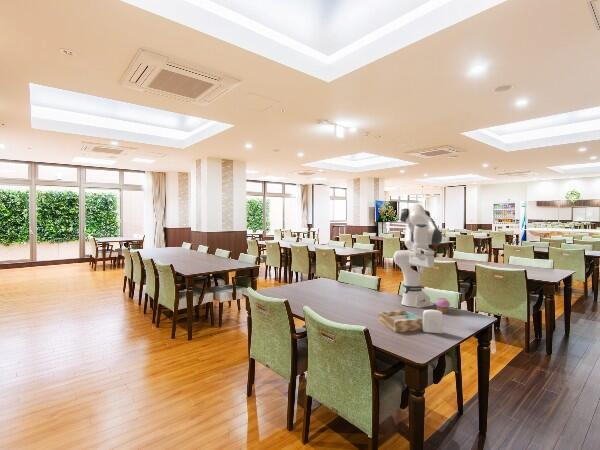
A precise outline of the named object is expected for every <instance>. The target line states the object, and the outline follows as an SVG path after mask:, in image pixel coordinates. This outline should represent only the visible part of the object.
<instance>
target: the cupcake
mask: <svg viewBox="0 0 600 450" xmlns="http://www.w3.org/2000/svg"><path fill="white" fill-rule="evenodd" d="M434 302H435V303H434V305H436V310H438V311H440V312H442V314H447V313H448V310H449V307H451V303H450V300H448V299H446V298H444V297H439V298H437V299H436V300H435V301H434Z"/></svg>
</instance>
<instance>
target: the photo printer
mask: <svg viewBox="0 0 600 450" xmlns="http://www.w3.org/2000/svg"><path fill="white" fill-rule="evenodd" d="M443 317H444V316H443V313H442V312H440V311H438V310H437V309H426V310H425V309H424V310H423V313H422V318H423V330H422V332H423V333H430V334H432V333H433V334H441V335H442V334H443V324H444V323H443V319H444V318H443Z"/></svg>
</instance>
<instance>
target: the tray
mask: <svg viewBox="0 0 600 450" xmlns="http://www.w3.org/2000/svg"><path fill="white" fill-rule="evenodd" d="M389 317H391V318H392V319H394V320H396V321H397V320H407V319H418V318H422V317H420V316H419V315H416V314H414V313H412V312H411V311H407V310H406V315H398V316H389Z"/></svg>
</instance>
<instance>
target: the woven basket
mask: <svg viewBox="0 0 600 450" xmlns="http://www.w3.org/2000/svg"><path fill="white" fill-rule="evenodd" d="M406 311H407V310H406V309H402V310H388V311H379V312H378V321H377V322H378V323H379V324H381V325H382V326H384V327H386V328H387V329H389V330H390V331H392V332H394V333H404V332H414V331H423V317H421V318H418V319H407V320H397V321H396V320H394V319H392V318H391V317H389V316H398V315H406Z"/></svg>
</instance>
